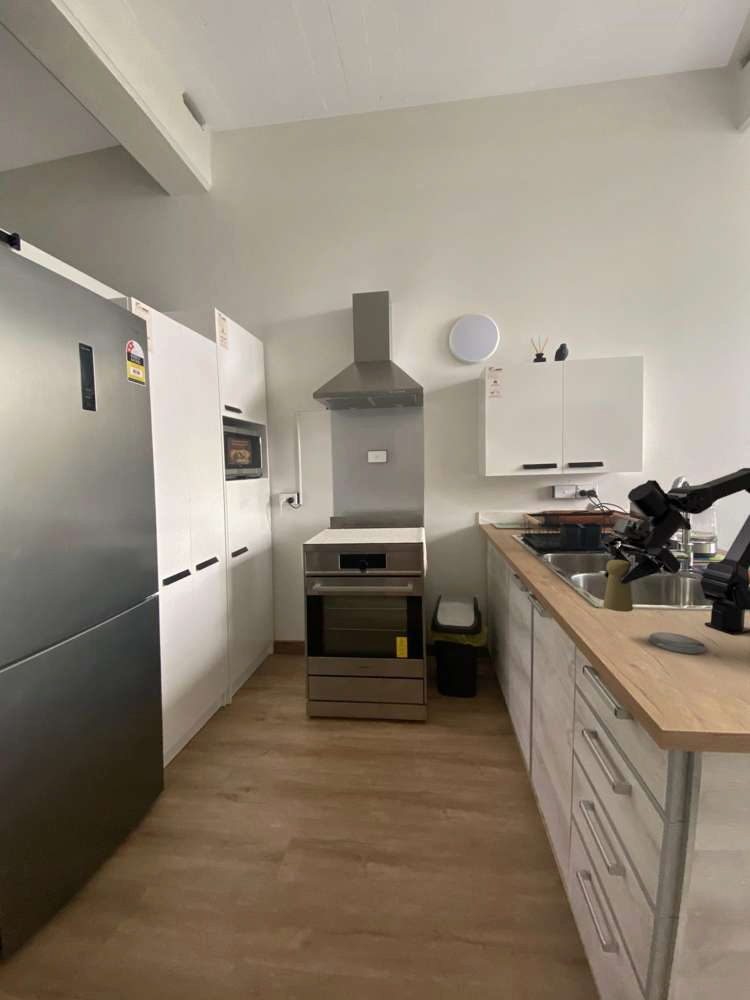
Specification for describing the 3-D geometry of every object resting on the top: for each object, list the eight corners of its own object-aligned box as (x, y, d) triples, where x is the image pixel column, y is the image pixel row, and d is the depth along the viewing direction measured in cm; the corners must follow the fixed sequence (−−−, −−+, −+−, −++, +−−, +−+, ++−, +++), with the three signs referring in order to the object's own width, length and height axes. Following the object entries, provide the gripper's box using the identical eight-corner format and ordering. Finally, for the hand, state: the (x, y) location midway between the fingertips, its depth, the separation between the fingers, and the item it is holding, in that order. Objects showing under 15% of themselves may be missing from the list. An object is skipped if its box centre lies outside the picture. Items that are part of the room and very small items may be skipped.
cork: (637, 612, 95) (639, 563, 94) (608, 610, 96) (609, 562, 96) (627, 603, 101) (628, 558, 100) (599, 602, 102) (600, 557, 101)
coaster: (672, 633, 100) (672, 630, 100) (716, 651, 91) (716, 647, 91) (638, 638, 98) (638, 634, 98) (680, 656, 88) (680, 652, 88)
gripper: (609, 503, 107) (567, 548, 106) (670, 510, 88) (620, 565, 88) (636, 533, 108) (595, 578, 108) (702, 546, 90) (653, 600, 89)
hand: (613, 579), depth 98 cm, fingers closed on cork, 5 cm apart
